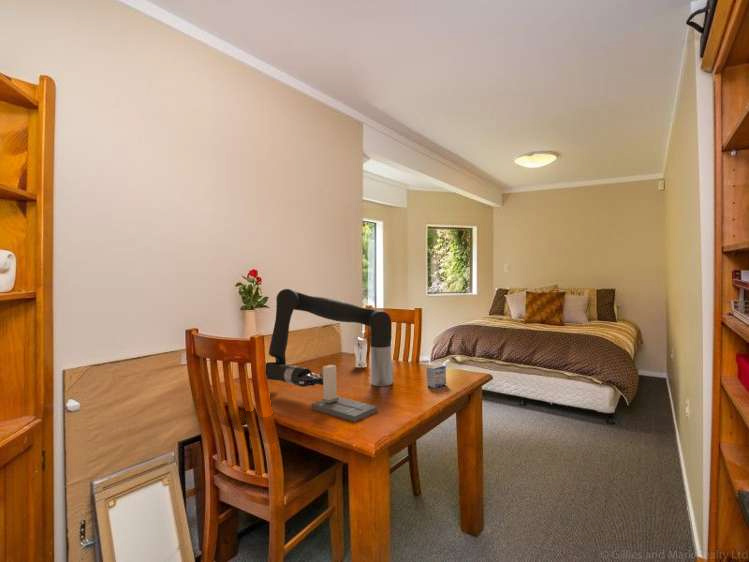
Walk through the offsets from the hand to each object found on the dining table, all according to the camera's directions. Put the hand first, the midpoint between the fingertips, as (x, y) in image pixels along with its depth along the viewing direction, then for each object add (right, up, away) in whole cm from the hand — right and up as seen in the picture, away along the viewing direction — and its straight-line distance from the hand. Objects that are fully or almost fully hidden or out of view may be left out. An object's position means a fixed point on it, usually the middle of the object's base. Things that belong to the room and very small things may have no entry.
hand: (327, 382), depth 148 cm
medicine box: (+45, -8, +23) cm, 51 cm away
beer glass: (+11, -8, +63) cm, 64 cm away
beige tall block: (+1, -7, -1) cm, 7 cm away
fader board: (+7, -9, -5) cm, 12 cm away
